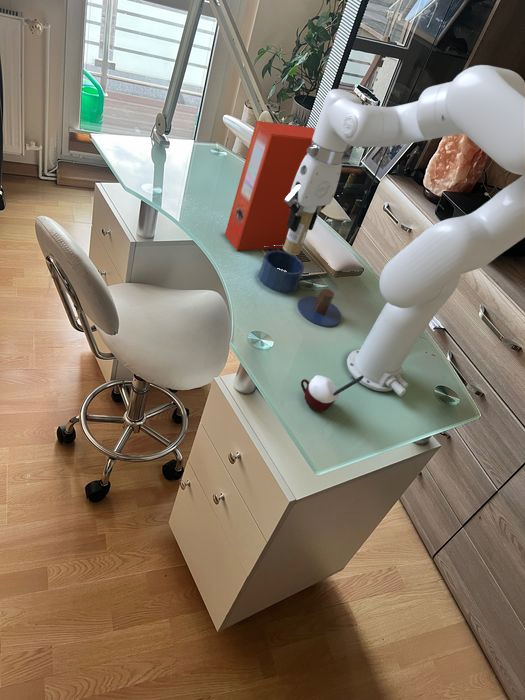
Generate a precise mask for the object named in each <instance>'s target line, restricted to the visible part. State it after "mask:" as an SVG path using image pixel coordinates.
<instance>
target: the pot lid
mask: <svg viewBox="0 0 525 700" xmlns="http://www.w3.org/2000/svg"><path fill="white" fill-rule="evenodd" d="M334 297H335V293H334V292H333V290H331V289H328V288H322V289H321V291H320V294H319V296H313V295H307V296H303V297H301V298H300V299H299V300H298V303H297V309H298V312H299V314H300V315H301V316H302V317H303V318H305V319H306V320H307V321H308V322H310V323H311V324H314V325H317V326H319V327H326V328H329V327H330V328H332V327H335V326H338V325H339V324H340V323H341V320H342V314H341V312H340V310H339V308H338V307H337V306H335V304H333V303H332V301H333V299H334Z"/></svg>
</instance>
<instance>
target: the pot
mask: <svg viewBox="0 0 525 700" xmlns="http://www.w3.org/2000/svg"><path fill="white" fill-rule="evenodd" d="M277 268H280V269H283V270H286V271H287V272H284V271H281V270H279V269H277ZM304 270H305V265H304V263H303V261H301V260H300V259H299V258H298V257H297V256H296V255H291V254H288V253H286V252H285V251H284V250H278V249H274V250H269V251H268V252H265V255H264V258H263V261H262V264H261V267H260V269H259V272H258V279H259V282H261V284H262V285H263V286H264V287H265V288H268V289H269V290H271V291H274V292H276V293H280V294H281V293H282V294H289V293H294V291H296V290H297V288H298V285H299V283H300V281H301V279H302V276H303V273H304Z"/></svg>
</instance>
